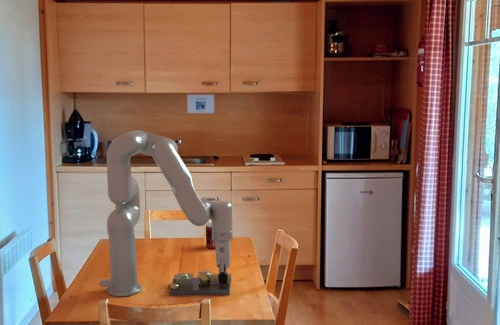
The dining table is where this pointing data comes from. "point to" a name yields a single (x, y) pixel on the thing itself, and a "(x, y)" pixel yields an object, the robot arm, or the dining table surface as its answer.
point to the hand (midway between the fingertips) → (223, 283)
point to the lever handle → (210, 278)
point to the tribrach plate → (195, 287)
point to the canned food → (209, 237)
